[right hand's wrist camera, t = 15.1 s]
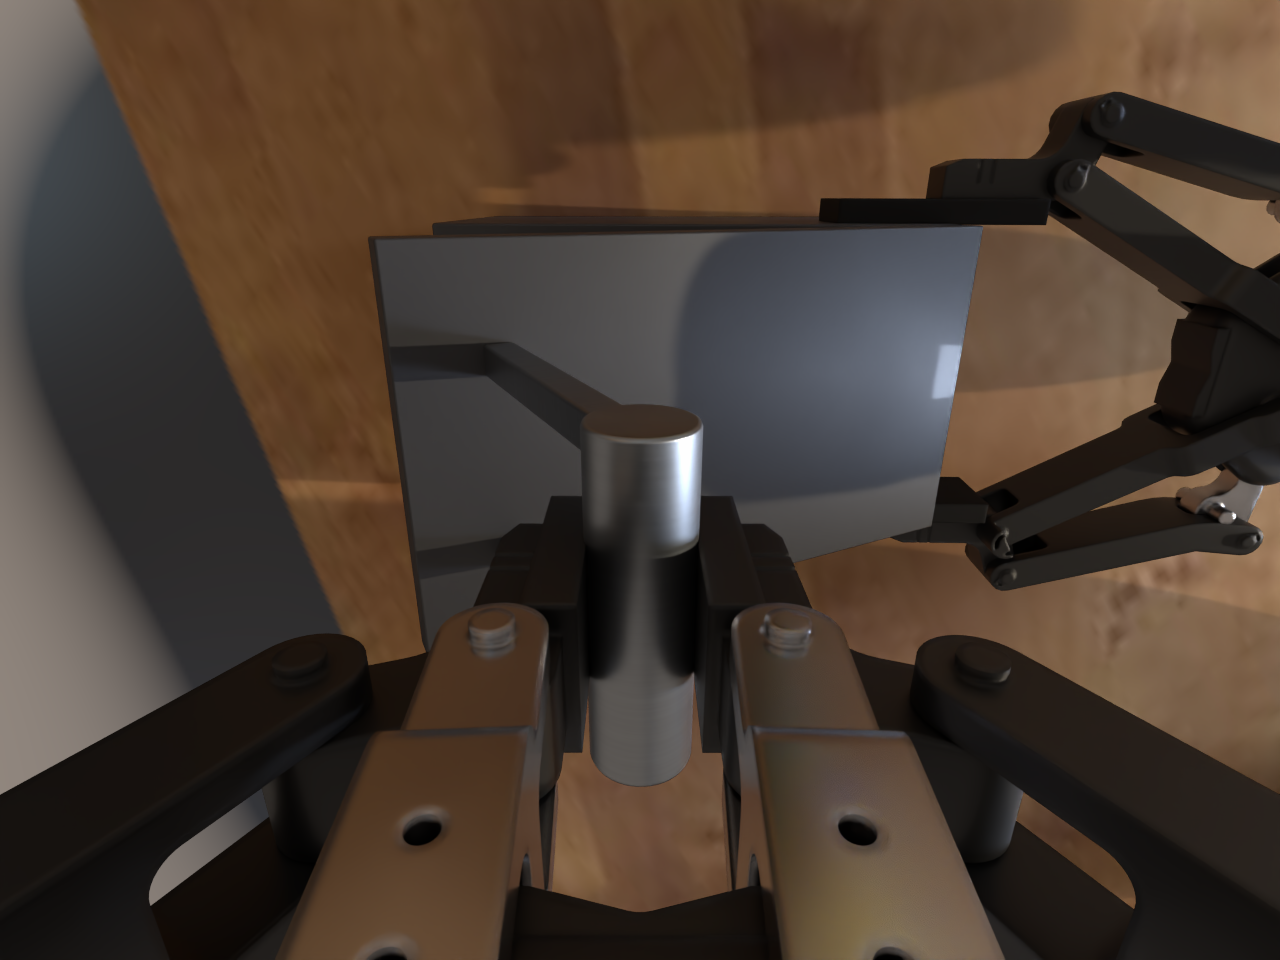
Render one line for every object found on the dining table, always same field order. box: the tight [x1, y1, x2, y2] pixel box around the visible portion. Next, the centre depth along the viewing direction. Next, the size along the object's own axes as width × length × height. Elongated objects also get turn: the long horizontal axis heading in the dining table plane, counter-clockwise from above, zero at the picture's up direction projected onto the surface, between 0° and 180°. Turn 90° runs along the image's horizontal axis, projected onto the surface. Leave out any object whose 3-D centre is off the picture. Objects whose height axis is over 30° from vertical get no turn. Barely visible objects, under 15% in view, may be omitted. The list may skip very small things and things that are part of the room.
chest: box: [432, 216, 959, 235], centre depth 27 cm, size 16×10×9 cm, turn 90°
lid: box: [368, 225, 983, 787], centre depth 16 cm, size 17×10×8 cm, turn 89°
